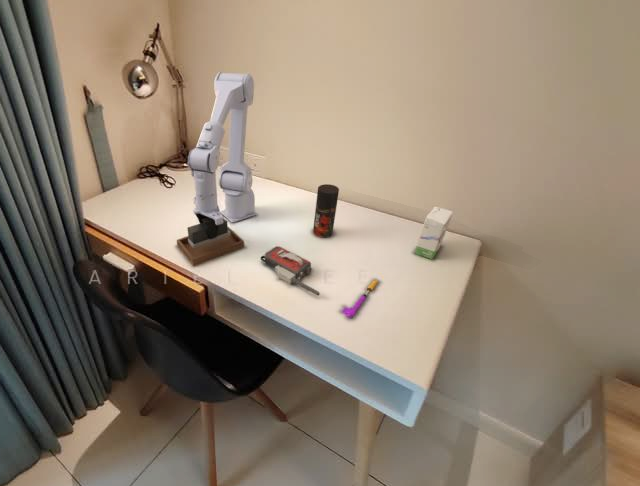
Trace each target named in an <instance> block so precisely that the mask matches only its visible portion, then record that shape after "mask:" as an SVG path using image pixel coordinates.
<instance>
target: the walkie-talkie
mask: <svg viewBox="0 0 640 486" xmlns="http://www.w3.org/2000/svg"><path fill="white" fill-rule="evenodd" d="M260 260H261V261H262V262H263V263H264V264H265V265H267V266H268V267H270V268H272V269H274V272H276V275H277V277H278V278H279V279H281V280H283V281H284V282H285V283H287V284H289V285H291V284H292V283H293V284H294V285H296V286H299V287H301V288H302V289H304V290H306V291H308V292H311V293H312V294H314V295H316V296H320V292H319V291H318V290H316V289H314V288H312V287H311V286H309V285H308V284H305V283H303V282H302V281H301V280H302V277H304V276H305V275H309V274H311V272H312V270H313V269H312V267H311V266H312V263H311V261H309V260H308V259H305V258H304V257H301V256H300V255H298V254H295V253H293V252H291V251H290V250H287V249H285V248H284V247H281V246H274V247H273V248H271V249H270V250H268V251H267V252H265V253H264V255H261V256H260Z"/></svg>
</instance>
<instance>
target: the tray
mask: <svg viewBox="0 0 640 486" xmlns="http://www.w3.org/2000/svg"><path fill="white" fill-rule="evenodd" d="M228 230H229V231H230V232H231V236H228V237H225V238H222V239H219V240H216V241H213V242H211V243H208V244H205V245H202V246H199V247H196V248H193V247H192V246H191V245H190V243H189V242H188V238H189V237H188V235H187V236H183V237H181V238H178V239H176V246H177V247H178V248H179V250H180V251H181V253H182V254H183V256H184V257H186V259H187V260H188V261H189V262H190V264H191V265H192V266H193V267H196V266H199V265H201V264H205V263H206V262H209V261H211V260H215V259H218V258H220V257H223V256H225V255H227V254H231V253H233V252H237V251H239V250H241V249H245V241H244V239H242V238H241V237H240V236H239V235H238V234H237V233H236V232H235V231H234V230H233V229H232V228H230V227H229V226H228Z"/></svg>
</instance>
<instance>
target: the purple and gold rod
mask: <svg viewBox="0 0 640 486" xmlns="http://www.w3.org/2000/svg"><path fill="white" fill-rule="evenodd" d="M378 282H379V281H378V280H376V279H374V280H373V281H372V282H371V284H370V285H368V286H367V289H366V290H367V292H366V293H363V295H361V296H360V297H359V299H358V300H357V302H356V303H354V305H353V307H350V308H349V307H345V306H344V308H343V309H342V311H341V313H343V314H345V315H346V316H347V318H350V319H352V317H353V316H354V315H355V314H356V313H357V310H359V308H360V307H361V305H362V304H363V302H364V301H365V300H366V298H367V294H368V293H369V292H372V291H373V290H374V288H375V286H376V285H377V284H378Z"/></svg>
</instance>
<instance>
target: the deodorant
mask: <svg viewBox="0 0 640 486" xmlns="http://www.w3.org/2000/svg"><path fill="white" fill-rule="evenodd" d="M339 193H340V188H339V187H338V186H337V185H334V184H329V183H327V184H320V185H318V187H317V193H316V201H315V202H316V203H315V209H314V210H315V211H314V220H313V229H312V233H313V235H315V237H318V238H321V239H322V238H323V239H326V238H327V239H328V238H331V237H332V236H333V234H334V226H335V219H336V214H337V213H336V212H337V207H338V199H339Z"/></svg>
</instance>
